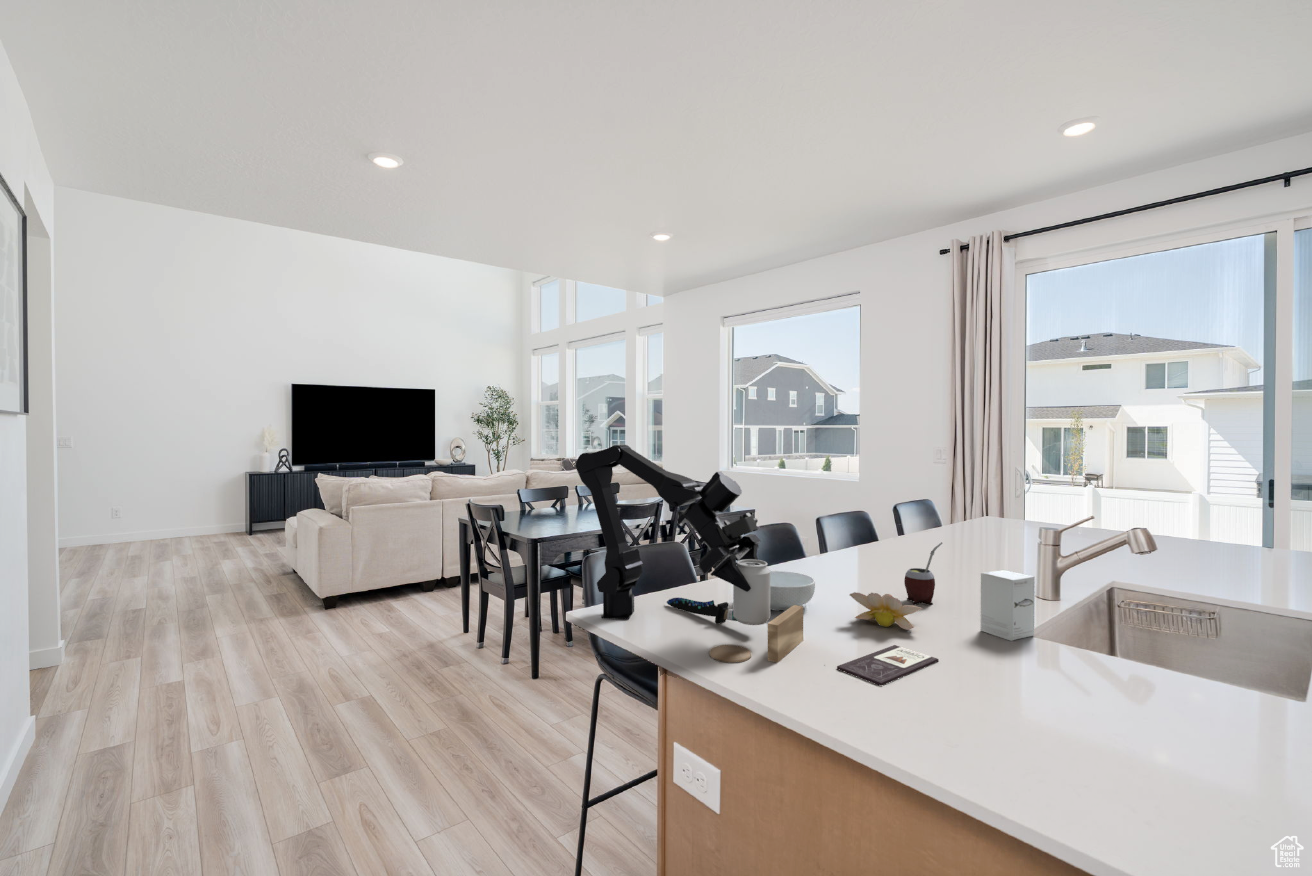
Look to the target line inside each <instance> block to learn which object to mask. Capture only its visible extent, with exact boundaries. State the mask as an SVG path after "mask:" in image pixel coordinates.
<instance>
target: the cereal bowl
mask: <svg viewBox="0 0 1312 876" xmlns="http://www.w3.org/2000/svg"><path fill="white" fill-rule="evenodd" d="M815 588H816V580H815V579H814V578H813V577H812V576H810V575H808V574H804V573H800V572H795V571H785V570H784V571H783V570H771V577H770V610H772V609H774V611H779V610H787V609H789V608H790V607H792V606H793V605H797V606H804V605H806V604H807V603H809V602H810V601H811V599H812V598H813V597H814V595H815V590H816V589H815Z"/></svg>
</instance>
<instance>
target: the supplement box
mask: <svg viewBox="0 0 1312 876" xmlns="http://www.w3.org/2000/svg"><path fill="white" fill-rule="evenodd" d="M1035 580H1036V579H1035V576H1033V575H1030V574H1024V573H1020V572H1014V571H1011V570H1005V569H1001V570H993V571H987V572H981V573H980V632H981V631H982V632H985V633H986V634H990V635H992V636H995V637H998V638H1001V639H1005V640H1007V641H1010V642H1012V641H1016V640H1019V639H1023V638H1028V637H1029V638H1030V637H1034V636H1035V596H1036V595H1035V593H1036V592H1035V587H1036V586H1035V582H1036V581H1035Z"/></svg>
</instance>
